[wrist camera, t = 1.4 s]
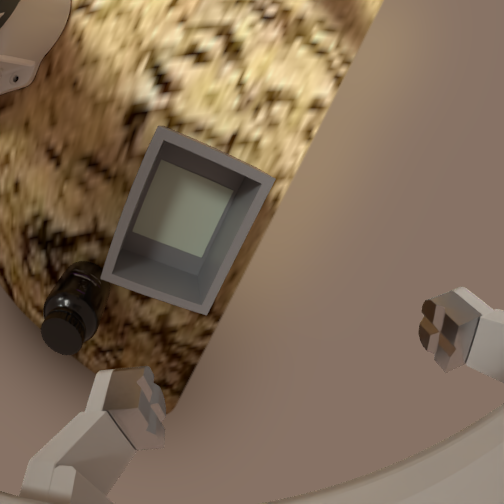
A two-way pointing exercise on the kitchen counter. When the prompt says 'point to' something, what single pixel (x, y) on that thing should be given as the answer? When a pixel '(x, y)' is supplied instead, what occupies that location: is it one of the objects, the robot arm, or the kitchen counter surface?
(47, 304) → the supplement bottle
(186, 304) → the walled bin
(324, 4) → the kitchen counter surface
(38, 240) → the kitchen counter surface
